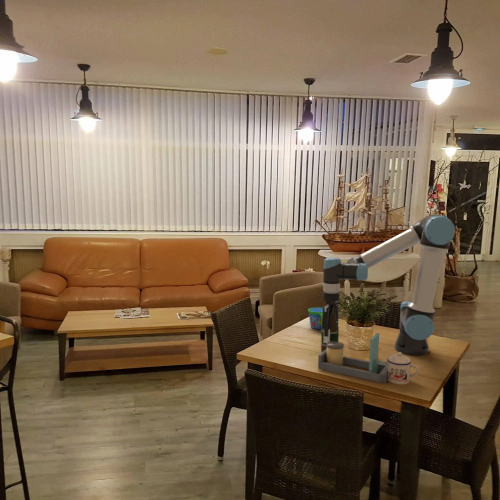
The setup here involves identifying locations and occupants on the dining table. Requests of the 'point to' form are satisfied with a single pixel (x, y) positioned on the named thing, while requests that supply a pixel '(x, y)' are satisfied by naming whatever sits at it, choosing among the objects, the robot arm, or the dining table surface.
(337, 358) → the jar
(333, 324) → the beer bottle
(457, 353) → the dining table surface
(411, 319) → the robot arm
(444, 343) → the dining table surface
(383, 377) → the tray
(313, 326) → the snack cup
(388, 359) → the teacup with lid
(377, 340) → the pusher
